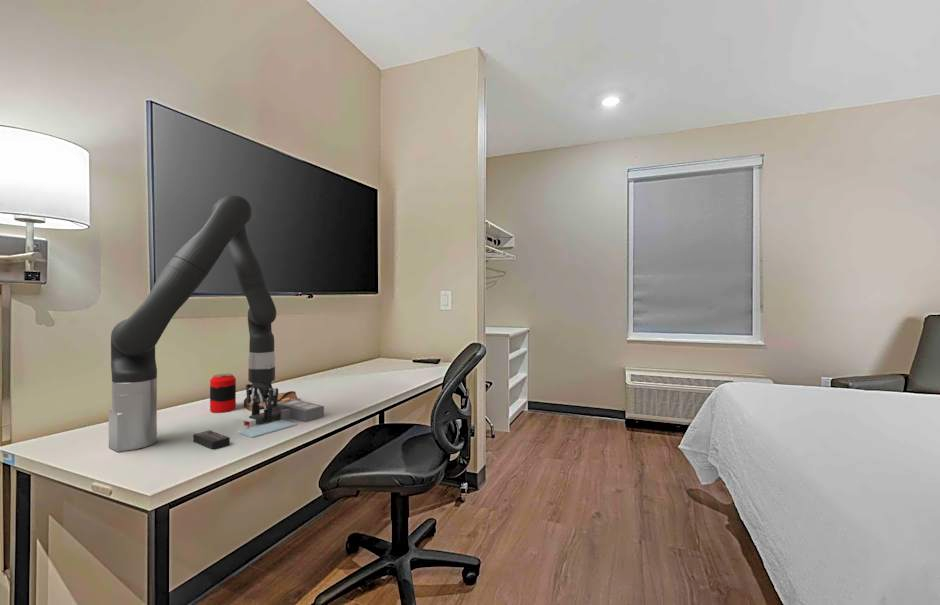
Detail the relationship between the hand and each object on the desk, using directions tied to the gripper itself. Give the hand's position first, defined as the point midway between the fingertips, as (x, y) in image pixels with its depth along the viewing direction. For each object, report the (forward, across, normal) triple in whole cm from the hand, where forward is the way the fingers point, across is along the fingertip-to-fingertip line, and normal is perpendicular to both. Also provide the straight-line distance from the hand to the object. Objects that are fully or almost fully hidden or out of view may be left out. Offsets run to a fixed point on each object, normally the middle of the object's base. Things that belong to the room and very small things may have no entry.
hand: (261, 418), depth 130 cm
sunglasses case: (+2, -15, +14) cm, 20 cm away
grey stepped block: (+1, +3, +10) cm, 10 cm away
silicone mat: (+1, +8, -3) cm, 9 cm away
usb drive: (+1, 0, +1) cm, 2 cm away
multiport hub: (+1, +7, -18) cm, 20 cm away
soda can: (+1, -23, 0) cm, 23 cm away
